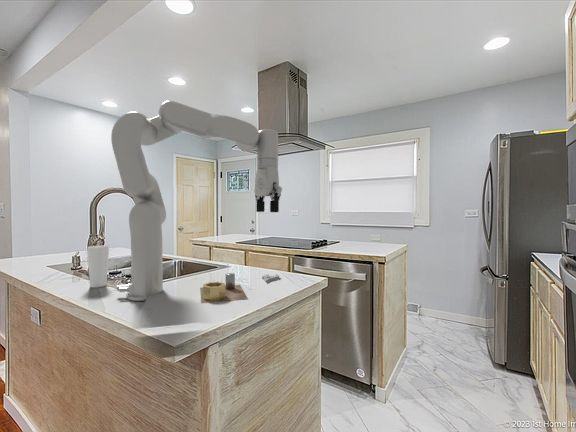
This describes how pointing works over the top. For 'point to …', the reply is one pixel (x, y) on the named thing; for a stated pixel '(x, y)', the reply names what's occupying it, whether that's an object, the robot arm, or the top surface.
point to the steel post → (230, 281)
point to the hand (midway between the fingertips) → (267, 212)
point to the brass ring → (213, 291)
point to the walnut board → (228, 295)
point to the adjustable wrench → (270, 278)
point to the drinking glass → (98, 265)
